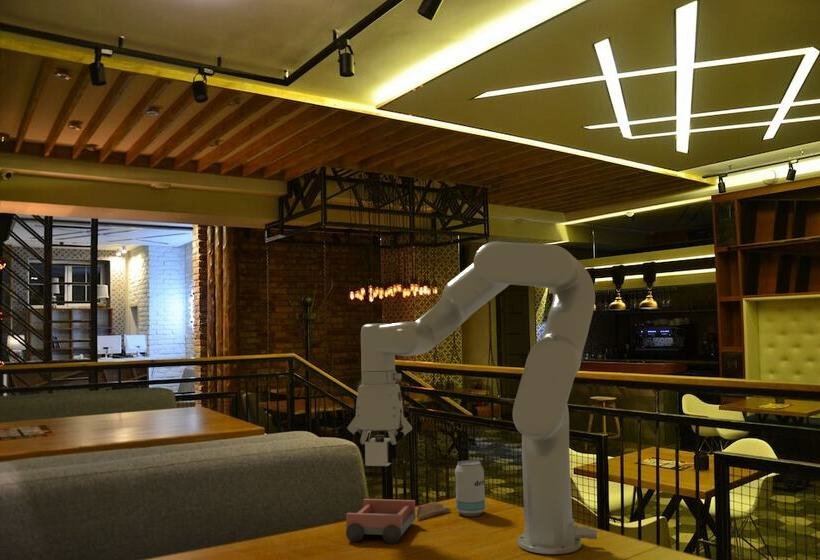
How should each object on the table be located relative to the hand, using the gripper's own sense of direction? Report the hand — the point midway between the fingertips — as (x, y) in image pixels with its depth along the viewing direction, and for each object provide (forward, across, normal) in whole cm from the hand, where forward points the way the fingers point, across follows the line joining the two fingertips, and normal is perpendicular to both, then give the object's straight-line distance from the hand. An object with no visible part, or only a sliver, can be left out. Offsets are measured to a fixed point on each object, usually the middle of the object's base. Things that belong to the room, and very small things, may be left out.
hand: (380, 460), depth 147 cm
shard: (+16, -8, -16) cm, 25 cm away
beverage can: (+16, -17, -18) cm, 29 cm away
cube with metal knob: (+1, 0, 0) cm, 1 cm away
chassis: (+15, 0, 0) cm, 15 cm away
